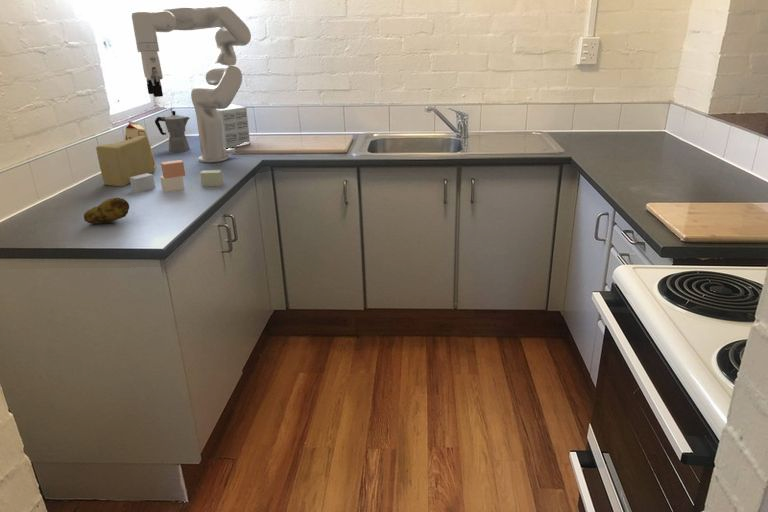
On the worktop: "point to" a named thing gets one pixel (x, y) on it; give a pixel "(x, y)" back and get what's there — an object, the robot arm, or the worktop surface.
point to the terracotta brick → (173, 168)
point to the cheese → (125, 160)
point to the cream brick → (172, 183)
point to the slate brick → (142, 182)
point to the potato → (107, 211)
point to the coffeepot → (175, 131)
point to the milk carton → (136, 134)
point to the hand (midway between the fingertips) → (155, 95)
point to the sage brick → (211, 178)
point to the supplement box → (234, 125)
